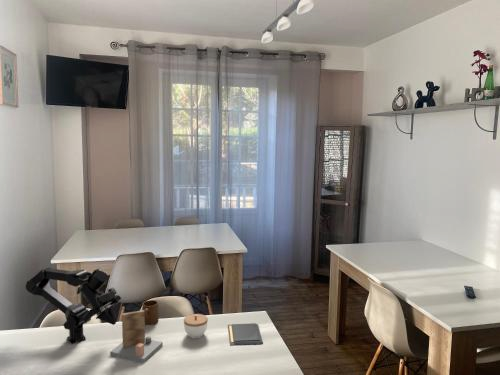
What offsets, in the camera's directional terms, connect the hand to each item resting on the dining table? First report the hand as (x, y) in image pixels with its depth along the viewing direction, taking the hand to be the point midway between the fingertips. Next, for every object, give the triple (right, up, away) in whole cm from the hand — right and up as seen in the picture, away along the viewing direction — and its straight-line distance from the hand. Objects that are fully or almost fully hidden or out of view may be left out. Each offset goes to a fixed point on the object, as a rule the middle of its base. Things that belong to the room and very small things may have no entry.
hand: (114, 324), depth 164 cm
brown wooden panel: (+8, -9, 0) cm, 12 cm away
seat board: (+10, -11, -1) cm, 14 cm away
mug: (+8, -8, +23) cm, 26 cm away
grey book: (+55, -11, +14) cm, 58 cm away
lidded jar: (+32, -10, +13) cm, 36 cm away
